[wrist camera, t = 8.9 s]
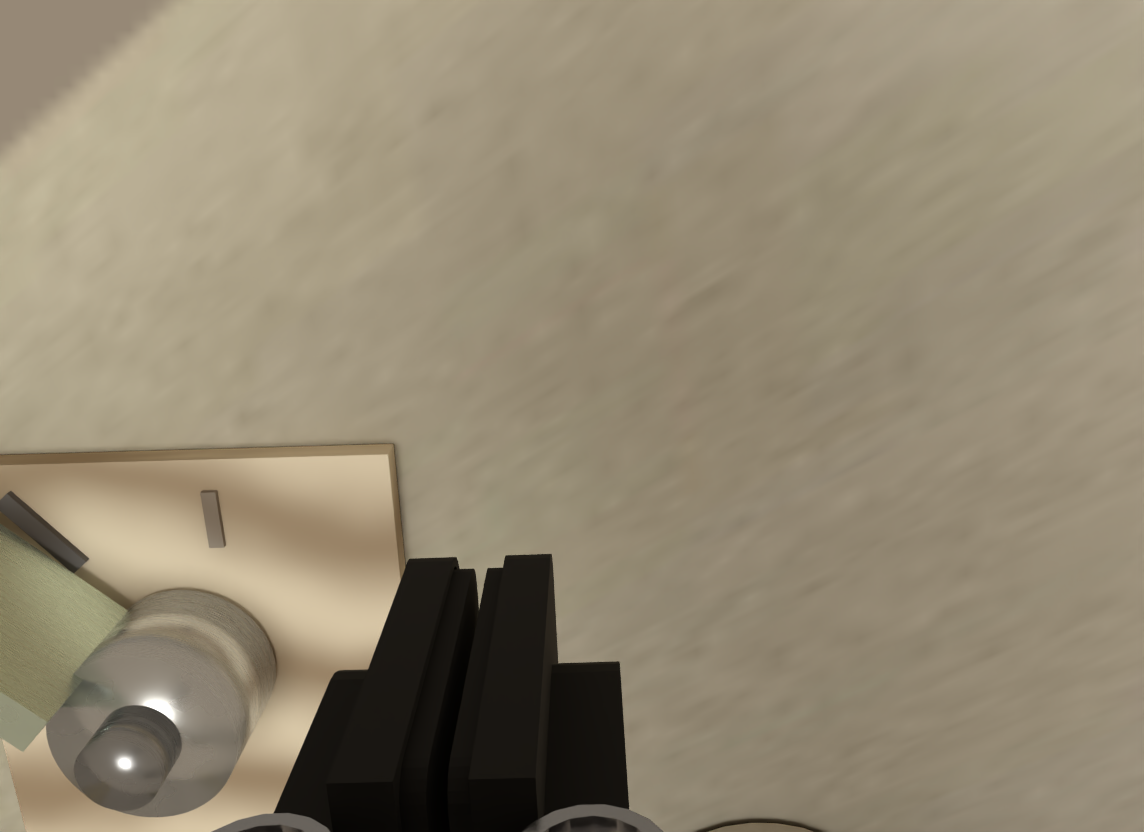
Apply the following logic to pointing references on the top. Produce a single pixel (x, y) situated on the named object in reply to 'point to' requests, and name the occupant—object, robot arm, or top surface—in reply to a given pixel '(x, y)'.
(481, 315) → the top surface
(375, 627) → the board
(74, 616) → the green panel with knob
